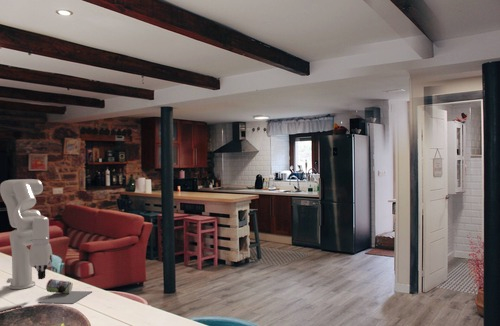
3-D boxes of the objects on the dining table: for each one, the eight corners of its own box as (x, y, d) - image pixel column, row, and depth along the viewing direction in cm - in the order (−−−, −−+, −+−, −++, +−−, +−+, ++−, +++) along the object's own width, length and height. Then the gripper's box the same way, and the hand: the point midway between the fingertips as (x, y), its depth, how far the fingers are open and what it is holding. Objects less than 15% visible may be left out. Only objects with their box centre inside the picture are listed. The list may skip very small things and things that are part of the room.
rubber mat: (37, 303, 198) (37, 302, 198) (59, 291, 216) (59, 290, 216) (73, 303, 196) (73, 303, 196) (92, 292, 214) (91, 291, 214)
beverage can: (49, 279, 214) (73, 278, 216) (47, 293, 212) (72, 292, 215) (45, 279, 208) (71, 278, 210) (44, 294, 206) (70, 294, 208)
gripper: (22, 243, 205) (22, 280, 205) (50, 243, 203) (51, 280, 203) (32, 240, 212) (32, 276, 212) (59, 240, 211) (59, 276, 210)
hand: (41, 278), depth 208 cm, fingers closed
